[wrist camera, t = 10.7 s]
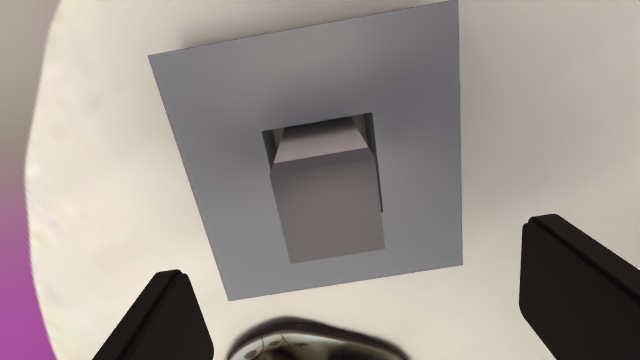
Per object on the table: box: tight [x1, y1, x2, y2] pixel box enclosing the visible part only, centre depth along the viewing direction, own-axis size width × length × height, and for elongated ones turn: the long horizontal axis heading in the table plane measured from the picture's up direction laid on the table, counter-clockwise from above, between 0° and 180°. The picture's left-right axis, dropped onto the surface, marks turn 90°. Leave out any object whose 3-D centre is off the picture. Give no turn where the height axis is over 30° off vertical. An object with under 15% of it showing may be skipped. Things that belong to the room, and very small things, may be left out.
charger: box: [270, 118, 385, 264], centre depth 17 cm, size 4×4×8 cm
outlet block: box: [148, 0, 463, 301], centre depth 20 cm, size 14×14×4 cm
